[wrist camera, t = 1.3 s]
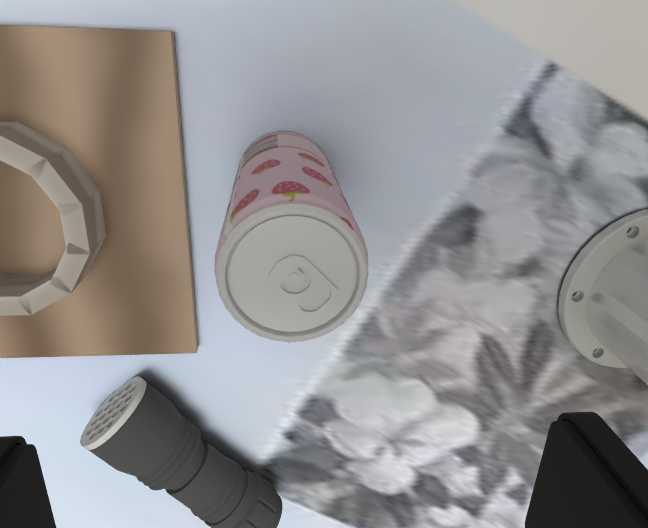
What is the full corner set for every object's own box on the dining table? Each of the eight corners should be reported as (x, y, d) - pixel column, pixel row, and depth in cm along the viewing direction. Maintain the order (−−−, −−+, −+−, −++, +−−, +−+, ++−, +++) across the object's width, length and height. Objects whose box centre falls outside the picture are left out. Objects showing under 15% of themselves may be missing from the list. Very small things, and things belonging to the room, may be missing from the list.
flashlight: (288, 478, 41) (291, 537, 36) (239, 512, 42) (235, 574, 37) (148, 363, 36) (129, 414, 31) (95, 405, 37) (68, 461, 32)
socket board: (173, 31, 27) (158, 29, 24) (198, 344, 35) (190, 379, 32) (-231, 17, 25) (-315, 12, 22) (-109, 352, 33) (-156, 389, 30)
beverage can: (309, 233, 33) (336, 366, 19) (225, 202, 31) (189, 323, 18) (344, 151, 31) (401, 234, 17) (256, 115, 30) (241, 174, 16)
